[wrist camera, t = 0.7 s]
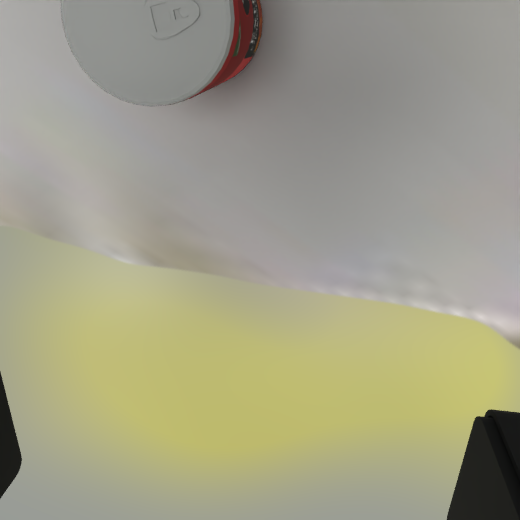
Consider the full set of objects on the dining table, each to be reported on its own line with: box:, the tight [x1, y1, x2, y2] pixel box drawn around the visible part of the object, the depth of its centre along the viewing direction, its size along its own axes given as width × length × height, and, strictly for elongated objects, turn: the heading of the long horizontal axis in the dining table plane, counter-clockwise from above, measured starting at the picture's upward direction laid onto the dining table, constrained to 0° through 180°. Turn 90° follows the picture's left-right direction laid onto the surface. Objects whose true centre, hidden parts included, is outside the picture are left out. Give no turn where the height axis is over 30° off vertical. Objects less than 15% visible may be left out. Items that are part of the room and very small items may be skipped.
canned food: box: [61, 0, 262, 106], centre depth 27 cm, size 8×8×11 cm
